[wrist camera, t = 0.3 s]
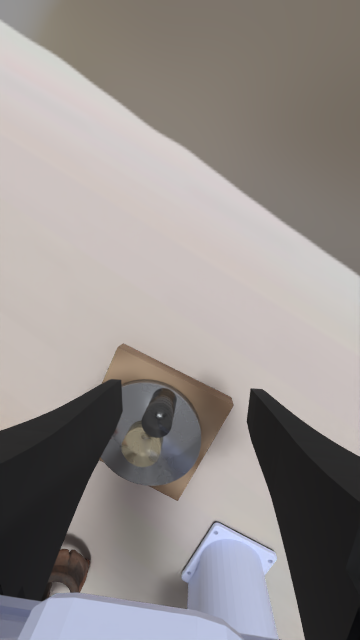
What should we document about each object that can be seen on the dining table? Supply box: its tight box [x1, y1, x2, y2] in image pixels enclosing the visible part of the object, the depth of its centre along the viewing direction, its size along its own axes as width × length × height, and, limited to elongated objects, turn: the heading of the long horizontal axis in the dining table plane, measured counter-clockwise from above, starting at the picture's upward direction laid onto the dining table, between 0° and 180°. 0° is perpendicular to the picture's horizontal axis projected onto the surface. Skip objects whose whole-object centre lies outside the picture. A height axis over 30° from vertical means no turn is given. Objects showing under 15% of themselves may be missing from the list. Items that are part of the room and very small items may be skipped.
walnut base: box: [99, 344, 234, 501], centre depth 22 cm, size 13×13×2 cm
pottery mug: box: [41, 549, 89, 602], centre depth 25 cm, size 12×10×8 cm
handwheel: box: [101, 379, 201, 486], centre depth 19 cm, size 11×11×5 cm
